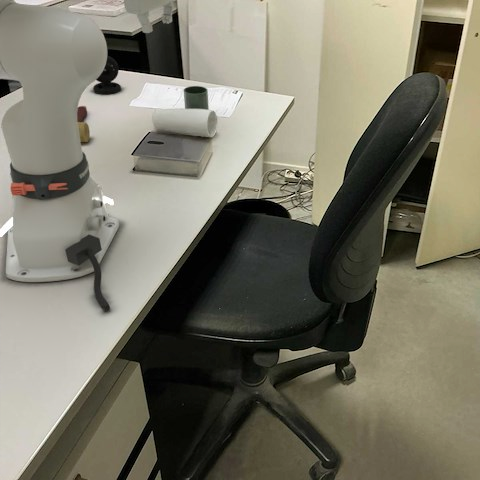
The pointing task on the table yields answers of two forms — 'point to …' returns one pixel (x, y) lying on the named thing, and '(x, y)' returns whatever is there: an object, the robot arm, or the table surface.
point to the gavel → (82, 124)
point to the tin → (196, 97)
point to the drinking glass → (186, 121)
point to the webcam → (108, 78)
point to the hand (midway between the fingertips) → (157, 27)
